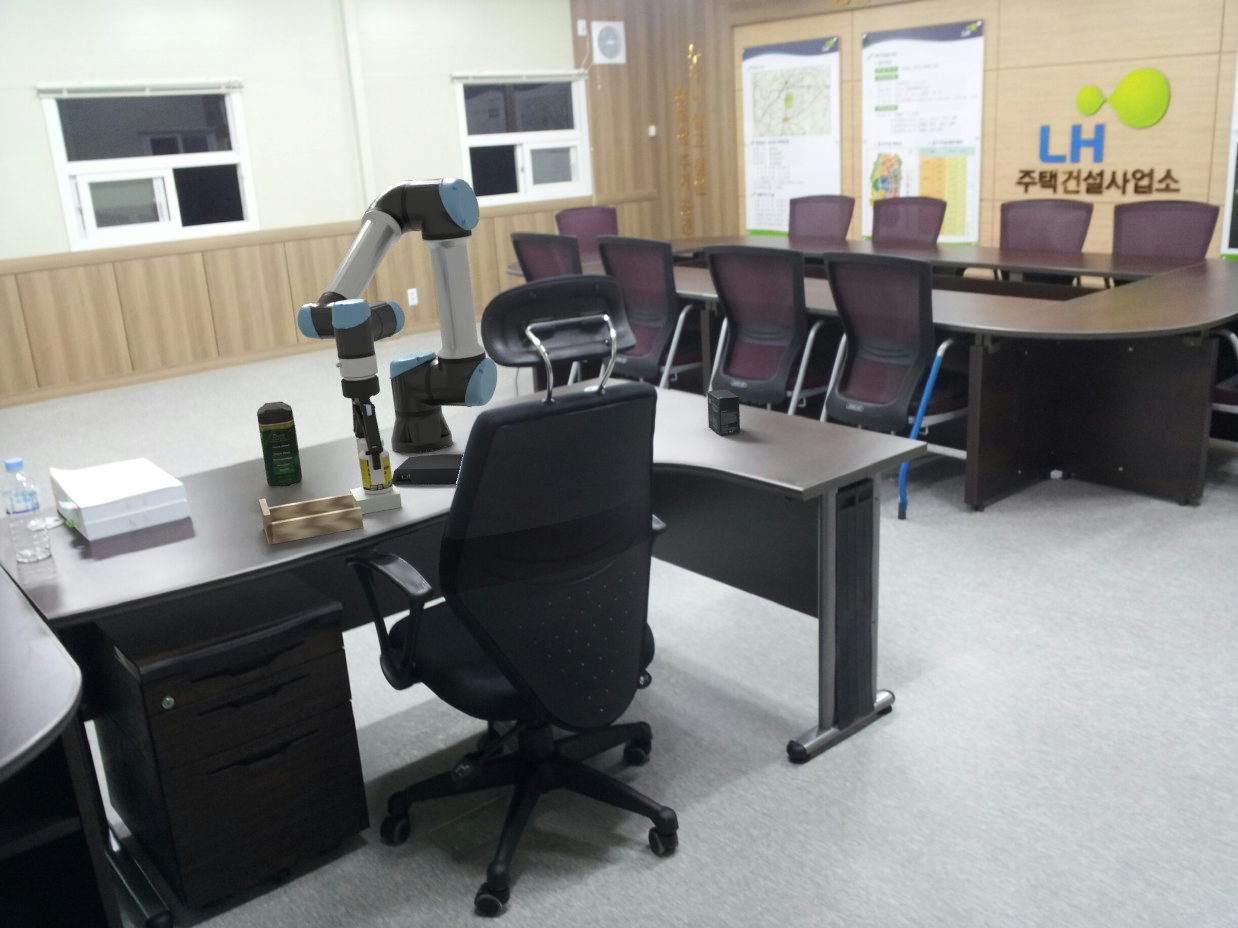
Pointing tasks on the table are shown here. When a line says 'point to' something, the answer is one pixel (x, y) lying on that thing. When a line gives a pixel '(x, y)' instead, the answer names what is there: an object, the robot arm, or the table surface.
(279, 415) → the coffee jar
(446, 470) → the external hard drive
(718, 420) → the box
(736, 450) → the table surface
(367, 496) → the stand
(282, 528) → the tray
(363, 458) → the pill bottle
